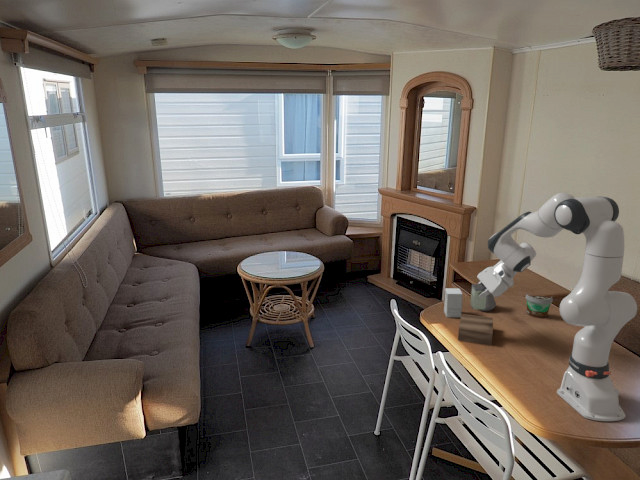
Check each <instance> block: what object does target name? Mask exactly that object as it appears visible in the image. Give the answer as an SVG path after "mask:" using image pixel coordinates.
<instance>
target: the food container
mask: <svg viewBox="0 0 640 480" xmlns="http://www.w3.org/2000/svg"><path fill="white" fill-rule="evenodd" d="M524 298H525V299H526V314H527V315H529V316H530V317H533V318H537V319H545V318H547V317H548V315H549V311H550V307H551V304H552V303H553V300H554V298H553V296H551V297H545V296H540V295H529V294H526V295H525V297H524Z"/></svg>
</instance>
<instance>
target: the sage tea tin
mask: <svg viewBox="0 0 640 480" xmlns="http://www.w3.org/2000/svg"><path fill="white" fill-rule="evenodd" d="M486 289H487V288H486V287H485V286H484V285H483V284H478V283H472V284H471V293H470V294H471V295H470V296H471V297H470V306H471V308H472V309H473V310H478V309H485V307H486V296H484V297H483V298H481V297H480V296H479V294H480V293H481V292H484V291H485V290H486Z"/></svg>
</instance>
